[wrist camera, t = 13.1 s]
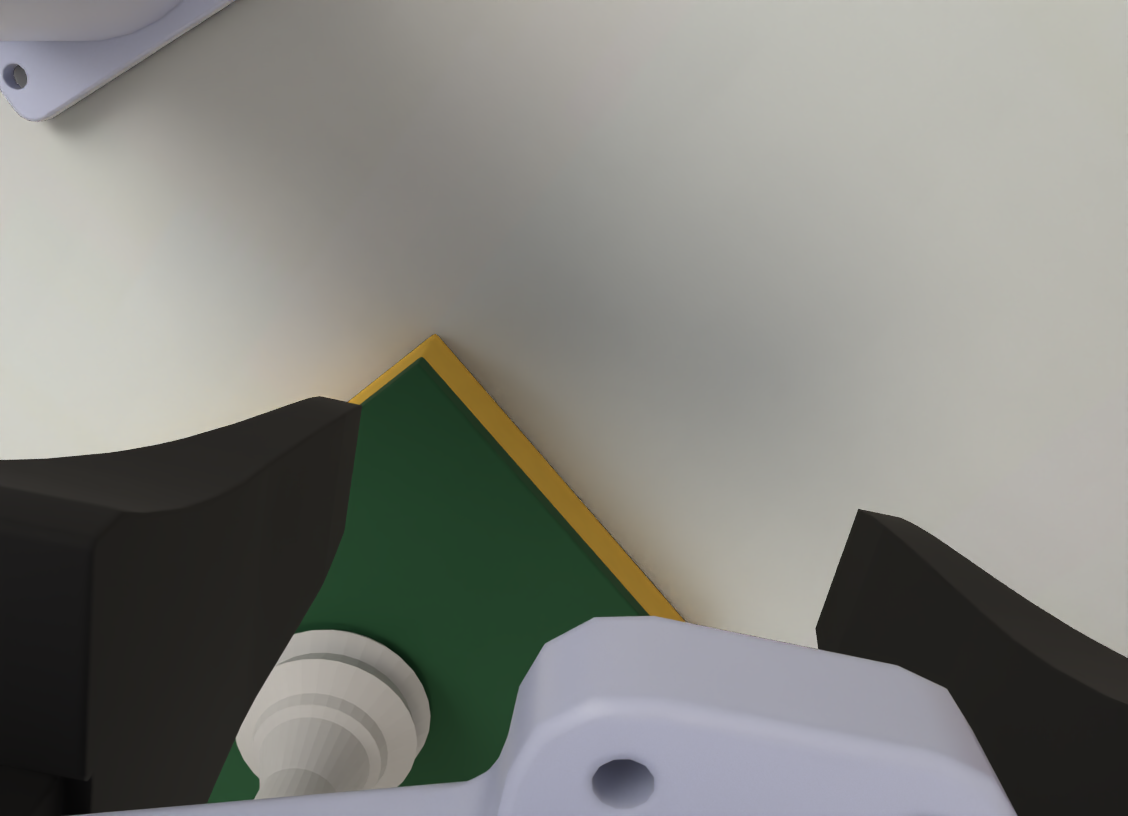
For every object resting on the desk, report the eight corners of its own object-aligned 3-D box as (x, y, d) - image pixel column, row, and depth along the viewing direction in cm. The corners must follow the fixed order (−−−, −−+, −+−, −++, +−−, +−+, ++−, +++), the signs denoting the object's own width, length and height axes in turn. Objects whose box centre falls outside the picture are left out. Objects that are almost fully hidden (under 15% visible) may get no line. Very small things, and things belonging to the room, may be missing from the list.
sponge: (34, 649, 27) (-18, 704, 25) (435, 332, 23) (417, 363, 21) (306, 890, 30) (281, 959, 27) (704, 642, 26) (713, 699, 24)
